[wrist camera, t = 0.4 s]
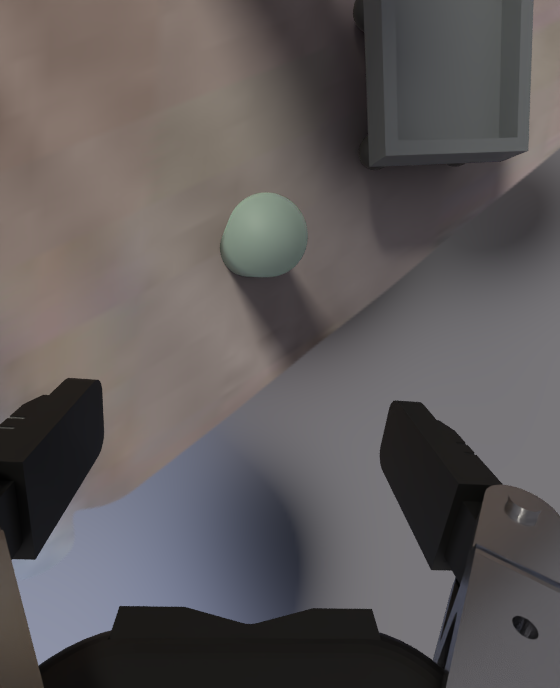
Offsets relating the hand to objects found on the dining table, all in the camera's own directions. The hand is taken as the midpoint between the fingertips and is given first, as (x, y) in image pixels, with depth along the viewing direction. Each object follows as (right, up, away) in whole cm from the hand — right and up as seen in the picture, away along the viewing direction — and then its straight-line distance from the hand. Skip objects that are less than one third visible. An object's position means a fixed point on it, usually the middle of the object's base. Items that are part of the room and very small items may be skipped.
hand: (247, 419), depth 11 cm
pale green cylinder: (-2, +11, +25) cm, 27 cm away
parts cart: (+13, +25, +25) cm, 38 cm away
